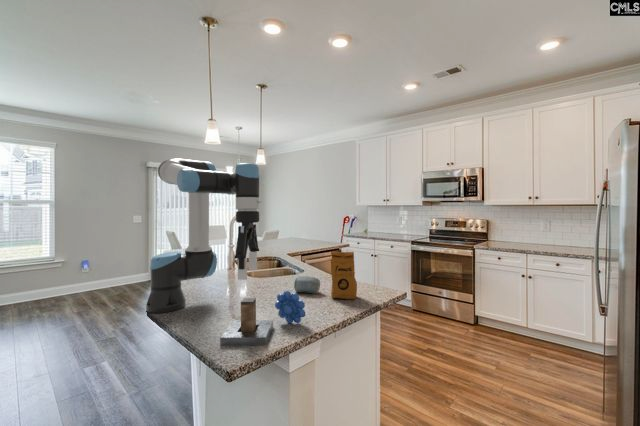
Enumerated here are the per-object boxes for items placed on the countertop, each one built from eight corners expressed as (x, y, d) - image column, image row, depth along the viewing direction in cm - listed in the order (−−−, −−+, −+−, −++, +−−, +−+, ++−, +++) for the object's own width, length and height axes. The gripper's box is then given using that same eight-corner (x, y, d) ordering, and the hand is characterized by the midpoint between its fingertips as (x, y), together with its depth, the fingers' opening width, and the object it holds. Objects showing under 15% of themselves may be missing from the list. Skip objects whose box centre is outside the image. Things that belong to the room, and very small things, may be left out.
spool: (288, 287, 145) (296, 268, 148) (295, 291, 153) (303, 273, 156) (311, 297, 139) (319, 278, 142) (317, 301, 147) (325, 282, 150)
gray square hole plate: (220, 345, 90) (220, 337, 90) (234, 327, 104) (233, 320, 104) (265, 345, 90) (265, 337, 90) (273, 327, 104) (273, 320, 104)
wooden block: (241, 338, 95) (240, 301, 95) (244, 333, 99) (244, 298, 99) (253, 338, 95) (252, 301, 95) (256, 333, 99) (255, 298, 99)
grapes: (271, 326, 104) (270, 293, 104) (277, 319, 111) (277, 288, 111) (302, 329, 102) (302, 295, 102) (307, 321, 108) (306, 289, 108)
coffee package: (356, 301, 132) (356, 253, 132) (329, 299, 135) (329, 252, 135) (357, 295, 142) (357, 250, 142) (332, 293, 145) (332, 249, 144)
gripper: (249, 210, 84) (250, 283, 84) (266, 210, 109) (266, 266, 109) (223, 210, 84) (224, 284, 84) (246, 210, 109) (246, 267, 109)
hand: (248, 274), depth 97 cm, fingers open, 13 cm apart
